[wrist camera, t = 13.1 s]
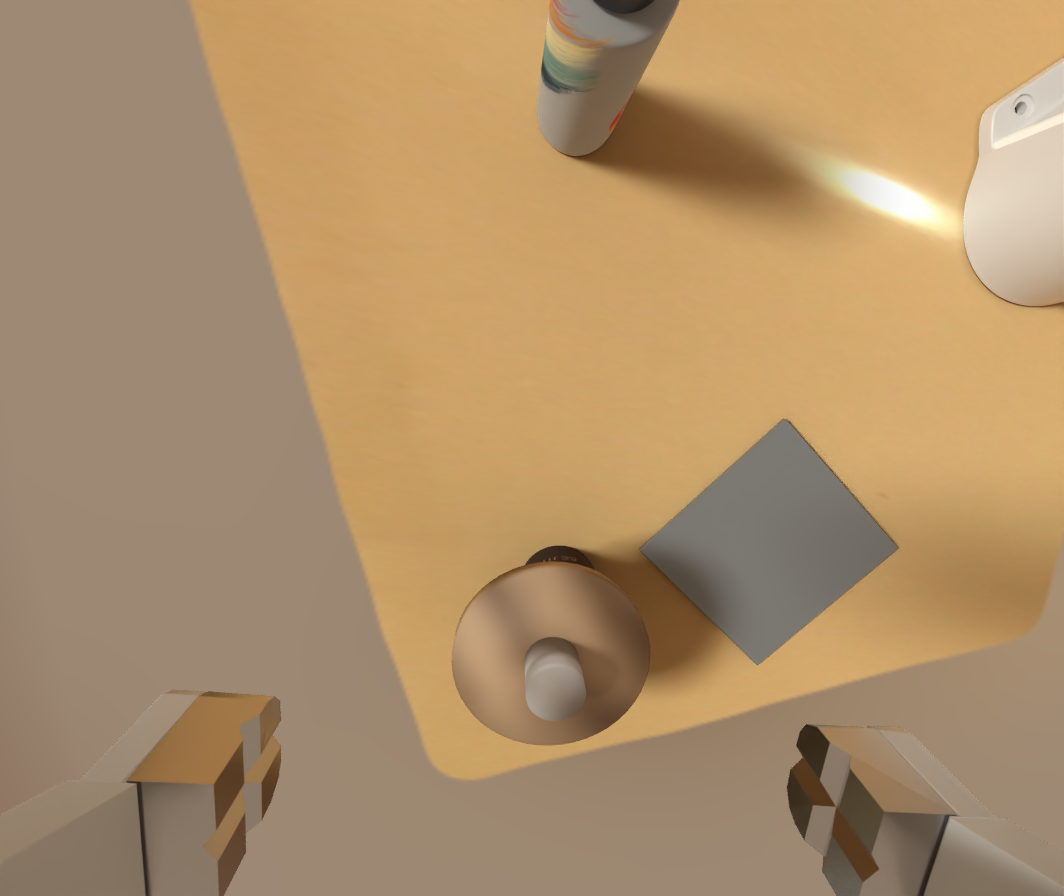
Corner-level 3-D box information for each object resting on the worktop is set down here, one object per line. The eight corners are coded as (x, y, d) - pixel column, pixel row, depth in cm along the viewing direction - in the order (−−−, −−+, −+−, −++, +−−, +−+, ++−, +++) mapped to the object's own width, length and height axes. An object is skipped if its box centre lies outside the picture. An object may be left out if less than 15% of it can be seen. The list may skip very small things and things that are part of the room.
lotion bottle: (624, 79, 36) (757, -209, 17) (605, 166, 38) (709, -10, 18) (545, 59, 36) (589, -262, 16) (528, 147, 37) (551, -54, 18)
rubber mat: (783, 418, 42) (786, 419, 42) (894, 545, 45) (898, 548, 45) (639, 548, 44) (640, 551, 44) (754, 662, 47) (757, 665, 47)
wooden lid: (551, 522, 33) (558, 551, 29) (684, 647, 35) (708, 691, 31) (413, 653, 35) (399, 699, 30) (548, 763, 37) (554, 820, 33)
